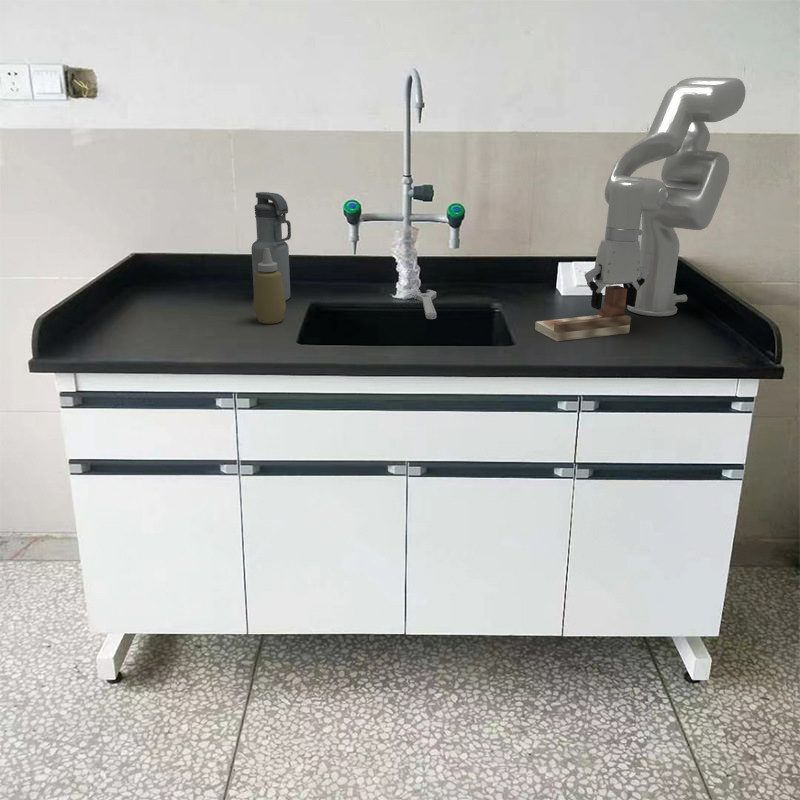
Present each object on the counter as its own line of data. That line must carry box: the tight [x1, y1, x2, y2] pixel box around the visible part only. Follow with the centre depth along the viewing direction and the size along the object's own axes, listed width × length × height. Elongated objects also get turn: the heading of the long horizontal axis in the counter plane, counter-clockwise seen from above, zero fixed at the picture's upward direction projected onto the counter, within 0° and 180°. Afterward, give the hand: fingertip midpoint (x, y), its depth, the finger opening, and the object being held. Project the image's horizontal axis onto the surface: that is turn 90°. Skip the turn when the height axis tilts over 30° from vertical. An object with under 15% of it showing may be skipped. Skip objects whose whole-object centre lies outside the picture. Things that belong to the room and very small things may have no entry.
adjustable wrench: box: [413, 289, 437, 320], centre depth 217 cm, size 25×6×2 cm, turn 178°
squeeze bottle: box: [252, 248, 287, 325], centre depth 199 cm, size 8×8×18 cm
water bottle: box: [250, 191, 292, 302], centre depth 217 cm, size 10×10×28 cm
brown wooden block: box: [598, 284, 627, 318], centre depth 198 cm, size 4×6×8 cm, turn 21°
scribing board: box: [534, 314, 632, 342], centre depth 196 cm, size 20×10×4 cm, turn 111°
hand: (613, 306), depth 197 cm, fingers open, 9 cm apart
